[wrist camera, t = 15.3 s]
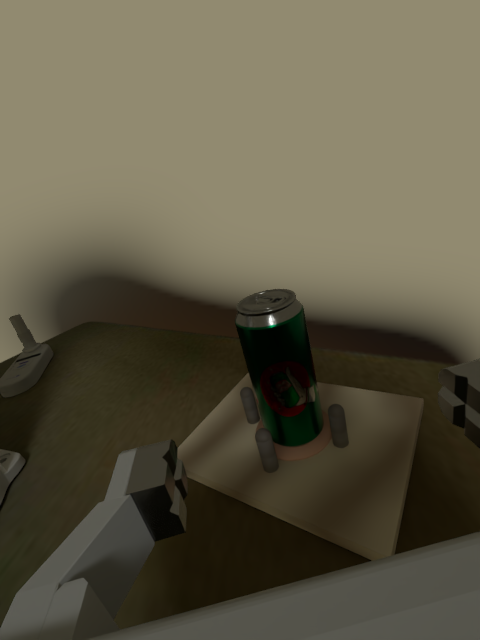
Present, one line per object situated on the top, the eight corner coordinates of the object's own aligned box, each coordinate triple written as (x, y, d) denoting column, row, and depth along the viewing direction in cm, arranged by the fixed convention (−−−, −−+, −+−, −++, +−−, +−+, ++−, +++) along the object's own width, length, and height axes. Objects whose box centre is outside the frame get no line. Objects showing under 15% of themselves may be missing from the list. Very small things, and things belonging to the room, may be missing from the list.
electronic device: (-38, 350, 46) (4, 316, 59) (-2, 404, 49) (30, 360, 63) (2, 338, 46) (34, 307, 60) (34, 392, 50) (57, 352, 64)
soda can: (282, 404, 31) (254, 287, 26) (333, 416, 28) (312, 285, 23) (254, 441, 27) (217, 313, 23) (310, 459, 24) (279, 315, 20)
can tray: (169, 468, 28) (152, 428, 26) (251, 378, 38) (242, 345, 36) (391, 569, 18) (386, 513, 16) (423, 407, 28) (422, 362, 26)
